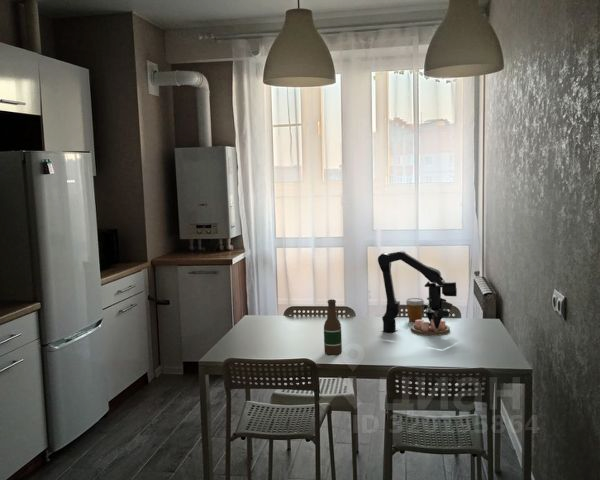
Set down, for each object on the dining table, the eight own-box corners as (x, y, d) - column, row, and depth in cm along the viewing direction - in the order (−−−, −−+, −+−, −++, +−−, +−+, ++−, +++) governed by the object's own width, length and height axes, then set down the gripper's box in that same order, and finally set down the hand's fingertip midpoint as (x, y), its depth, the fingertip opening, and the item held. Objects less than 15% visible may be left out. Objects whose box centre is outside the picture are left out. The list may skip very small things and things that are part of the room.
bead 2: (444, 332, 293) (444, 322, 292) (436, 331, 294) (436, 321, 294) (445, 330, 297) (445, 320, 296) (437, 329, 298) (437, 319, 298)
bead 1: (433, 331, 290) (433, 320, 289) (429, 329, 294) (429, 318, 293) (440, 330, 291) (440, 319, 290) (437, 328, 295) (436, 318, 294)
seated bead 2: (426, 334, 291) (426, 324, 290) (419, 333, 293) (419, 322, 293) (430, 332, 294) (430, 322, 293) (423, 331, 296) (423, 321, 296)
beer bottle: (331, 349, 272) (329, 297, 270) (345, 352, 267) (344, 299, 265) (320, 354, 266) (319, 300, 264) (335, 357, 261) (333, 302, 259)
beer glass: (402, 321, 320) (402, 299, 319) (417, 319, 324) (417, 297, 323) (413, 325, 311) (412, 302, 310) (428, 322, 315) (428, 300, 314)
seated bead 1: (421, 332, 295) (420, 321, 295) (413, 330, 298) (413, 320, 297) (425, 330, 298) (425, 320, 298) (418, 329, 301) (417, 319, 300)
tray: (438, 338, 285) (438, 334, 284) (404, 333, 297) (404, 328, 296) (456, 330, 298) (456, 326, 298) (423, 325, 310) (423, 321, 310)
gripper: (459, 298, 283) (459, 330, 285) (441, 291, 301) (441, 321, 303) (437, 300, 281) (438, 332, 282) (420, 292, 299) (420, 323, 300)
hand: (435, 327), depth 292 cm, fingers closed on bead 1, 4 cm apart
